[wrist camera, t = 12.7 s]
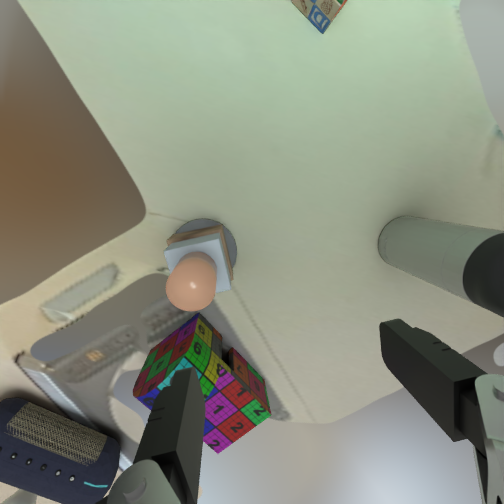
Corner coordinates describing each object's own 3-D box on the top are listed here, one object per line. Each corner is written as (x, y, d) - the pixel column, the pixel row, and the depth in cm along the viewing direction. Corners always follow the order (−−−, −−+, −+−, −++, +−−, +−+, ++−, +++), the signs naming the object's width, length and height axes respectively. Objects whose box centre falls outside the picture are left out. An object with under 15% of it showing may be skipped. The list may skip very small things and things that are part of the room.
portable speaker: (137, 433, 52) (117, 490, 42) (112, 468, 53) (86, 530, 43) (10, 376, 46) (-47, 426, 36) (-15, 416, 47) (-76, 475, 38)
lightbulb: (44, 485, 52) (-2, 561, 41) (19, 469, 51) (-36, 543, 40) (67, 468, 52) (26, 541, 41) (42, 451, 50) (-8, 522, 40)
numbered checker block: (128, 366, 48) (90, 438, 34) (199, 311, 47) (188, 362, 33) (216, 443, 54) (213, 530, 40) (280, 396, 53) (299, 469, 39)
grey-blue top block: (219, 232, 37) (218, 238, 33) (230, 277, 39) (231, 289, 34) (171, 243, 37) (163, 251, 32) (184, 287, 39) (179, 301, 34)
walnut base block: (222, 224, 42) (221, 228, 37) (232, 270, 44) (233, 280, 39) (173, 234, 42) (166, 240, 37) (186, 280, 44) (181, 291, 39)
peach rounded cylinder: (212, 247, 33) (209, 260, 27) (221, 285, 34) (220, 305, 28) (171, 256, 33) (159, 271, 27) (181, 293, 34) (173, 315, 28)
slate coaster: (228, 212, 43) (228, 213, 42) (242, 274, 46) (242, 276, 45) (162, 226, 42) (161, 227, 41) (180, 288, 45) (179, 290, 44)
